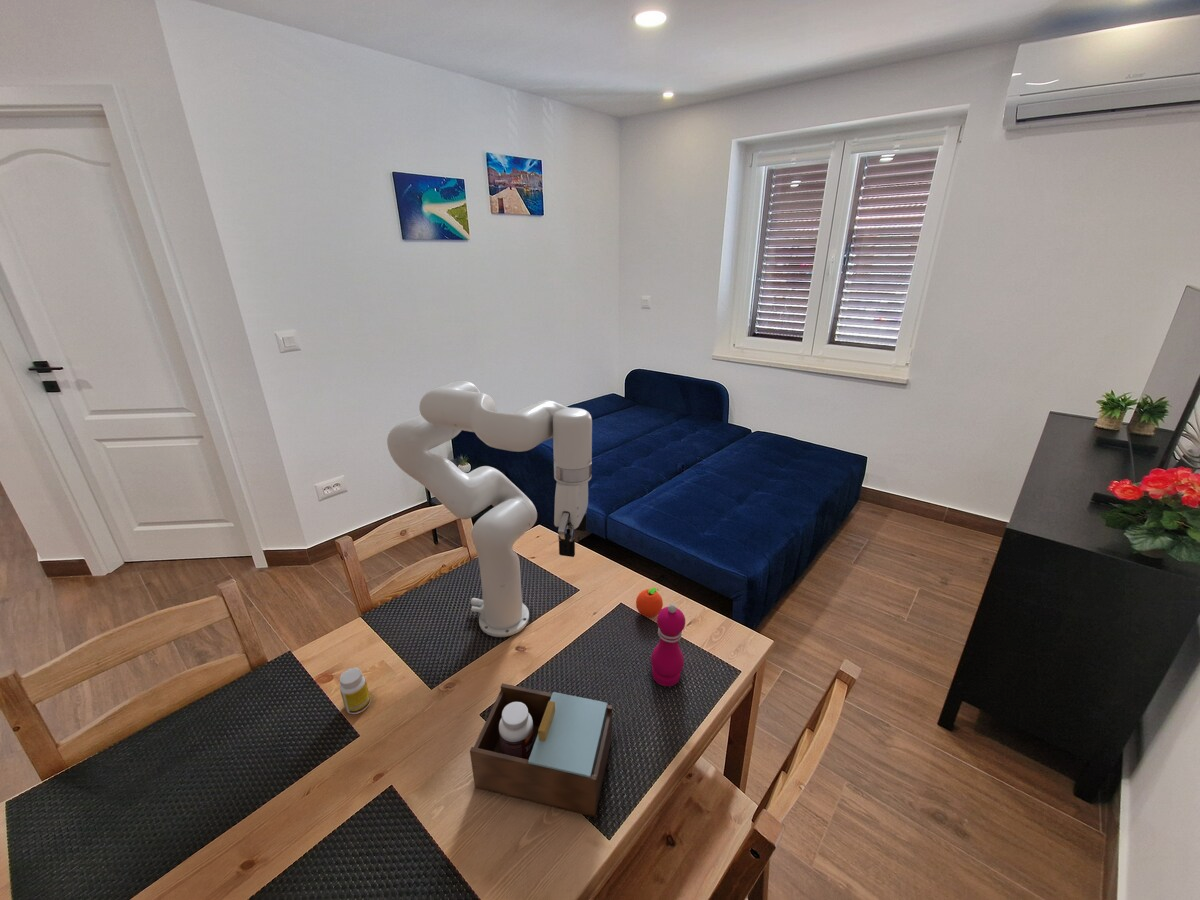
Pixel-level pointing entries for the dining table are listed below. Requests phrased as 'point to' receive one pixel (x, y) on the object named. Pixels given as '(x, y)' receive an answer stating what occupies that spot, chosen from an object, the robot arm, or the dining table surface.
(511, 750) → the pill bottle
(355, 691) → the supplement bottle
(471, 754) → the case
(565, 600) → the dining table surface
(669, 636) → the pepper mill
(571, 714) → the sliding box lid
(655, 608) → the clementine
